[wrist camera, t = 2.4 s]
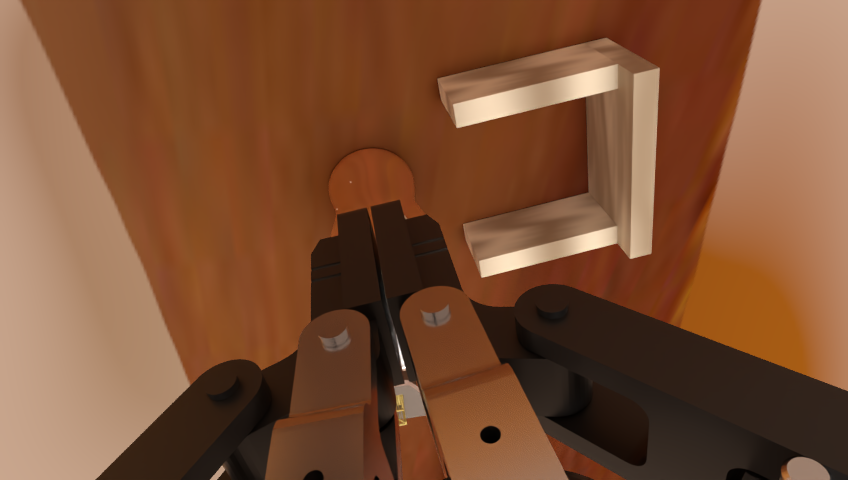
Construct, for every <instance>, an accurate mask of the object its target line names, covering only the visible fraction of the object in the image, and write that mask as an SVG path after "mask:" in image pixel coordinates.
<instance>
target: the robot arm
mask: <svg viewBox="0 0 848 480" xmlns="http://www.w3.org/2000/svg"><path fill="white" fill-rule="evenodd" d="M371 213H372V219H373V224H374V230H375V234H374V231H373V227H372V223H371V219H370V216H369V212H368V209H367V208H362V209H358V210H354V211H350V212H345V213H341V214H337V225H338V236H334V237H329V238H325V239H321V240H320V241H319V242H318V244H317V246H316V247H315V249H314V250H313V252H312V254H311V270H312V271H311V281H312V283H311V322H310V323H309V324H308V325H307V326H306V327H305V329H304V330H303V331H302V333H301V335H300V338H299V344H298V350H296V351H295V352H294V353H293V354H291V355H290V356H288V357H287V358H285V359H283V360H282V361H280V362H278V363H276V364H274V365H272V366H270V367H268V368H266V369H264V370H262V371H261V369H260V368H259V367H258V365H256V364H255V363H254V362H251V361H248V360H242V359H238V360H231V361H226V362H223V363H221V364H218V365H216V366H214V367H212V368H211V369H209V370H207V371H206V372H205V373H203V374H202V375H201V376H200V377H199V378H198V379H197V380H196V381H195V382H194V383H193V384H192V385H191V386H190V387H189V388H188V389H187V390H186V391H185V392H184V393H183V394H182V395H181V396H179V397H178V398H177V400H175V402H174V403H172V405H170V406H169V407H168V408H167V409H166V410H165V411H164V412H163V414H161V415H160V416H159V417H158V418H157V419H156V420H155V421H154V422H153V423H152V424H151V425H150V426H149V427H148V428H147V429H146V430H145V431H144V432H143V433H142V434H141V435H140V436H139V437H138V438H137V439H136V440H135V441H134V442H133V443H132V444H131V445H130V446H129V447H128V448H127V449H126V450H125V451H124V452H123V453H122V454H121V455H120V456H119V457H118V458H117V459H116V460H115V461H114V462H113V463H112V464H111V465H110V466H109V467H108V468H107V469H106V470H105V471H104V472H103V473H102V474H101V475H100V476H99V477H98V478H97V479H96V480H210V479H211V477H212V476H213V475H214V474H215V473H216V472H217V471H218V469H219V468H220V467H221V466H222V465H223V467H224V468H225V471H224V472H223V473H222V475H221V476H220V477H219V478H218V479H217V480H403V479H402V463H401V448H400V433H399V419H398V414H397V411H396V395H395V389H394V386H397V385H401V384H405V382H404V376H403V370H402V365H401V359H400V354H399V348H398V343H399V347H400V350H401V354H402V357H403V361H404V365H405V368H406V372H407V375H408V379H409V382H413V381H417V384H418V387H419V391H420V395H421V399H422V402H423V406H424V410H425V414H426V417H427V420H428V423H429V427H430V430H431V433H432V437H433V440H434V443H435V447H436V450H437V453H438V456H439V460H440V463H441V466H442V470H443V473H444V476H445V479H443V480H593V479H591V478H589V477H586V476H583V475H580V474H577V473H573V472H569V471H565V470H563V468H562V466H561V464H560V462H559V460H558V458H557V456H556V454H555V452H554V450H553V448H552V446H551V444H550V442H549V440H548V438H547V436H546V434H548V435H550V436H552V437H553V438H555V439H557V440H559V441H560V442H562V443H564V444H565V445H567V446H569V447H571V448H572V449H574V450H576V451H578V452H579V453H581V454H583V455H585V456H586V457H588V458H590V459H592V460H593V461H595V462H597V463H599V464H600V465H602V466H604V467H605V468H607V469H609V470H611V471H612V472H614V473H616V474H618V475H619V476H621V477H623V478H625V479H626V480H848V391H846V390H843V389H840V388H838V387H835V386H832V385H830V384H827V383H825V382H822V381H819V380H817V379H814V378H811V377H809V376H806V375H803V374H801V373H798V372H795V371H793V370H790V369H787V368H785V367H782V366H779V365H777V364H774V363H771V362H769V361H766V360H763V359H761V358H758V357H755V356H753V355H750V354H748V353H745V352H742V351H739V350H737V349H734V348H731V347H729V346H726V345H723V344H721V343H718V342H716V341H713V340H710V339H708V338H705V337H702V336H699V335H697V334H694V333H692V332H689V331H686V330H684V329H681V328H678V327H676V326H673V325H671V324H668V323H665V322H663V321H660V320H657V319H655V318H652V317H649V316H647V315H644V314H641V313H639V312H636V311H633V310H631V309H628V308H625V307H623V306H620V305H617V304H615V303H612V302H609V301H607V300H604V299H601V298H599V297H596V296H593V295H591V294H588V293H586V292H583V291H580V290H578V289H575V288H572V287H569V286H565V285H558V284H548V285H541V286H538V287H535V288H532V289H530V290H528V291H526V292H525V293H524V294H522V295H521V296H520V297H519V298H518V300H517V302H516V303H515V307H492V306H486V305H482V304H479V303H477V302H475V301H473V300H471V299H470V298H469V297H468V296H467V295H466V294H465V293H464V292H463V290H462V288H461V285H460V282H459V279H458V277H457V274H456V271H455V268H454V265H453V263H452V260H451V257H450V254H449V251H448V249H447V246H446V243H445V240H444V237H443V234H442V231H441V229H440V226H439V223H437V222H436V221H434V220H433V219H432V218H430V217H429V216H428V215H421V216H417V217H413V218H409V219H405V217H404V213H403V209H402V206H401V202H400V200H396V201H391V202H387V203H383V204H379V205H375V206H371ZM375 236H376V238H375ZM396 336H397V337H396ZM397 339H398V342H397ZM545 433H546V434H545Z"/></svg>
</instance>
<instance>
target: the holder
mask: <svg viewBox="0 0 848 480" xmlns="http://www.w3.org/2000/svg"><path fill="white" fill-rule="evenodd" d="M659 69H660V68H659V67H657V66H655V65H654V64H652V63H650V62H648V61H646V60H645V59H643V58H641V57H639V56H638V55H636V54H634V53H632V52H631V51H629V50H627V49H625V48H623V47H622V46H620V45H618V44H616V43H615V42H613V41H611V40H609V39H608V38H603V39H599V40H594V41H590V42H586V43H582V44H578V45H574V46H570V47H566V48H561V49H557V50H553V51H549V52H545V53H541V54H537V55H532V56H528V57H524V58H520V59H516V60H512V61H508V62H504V63H499V64H495V65H491V66H487V67H483V68H479V69H475V70H470V71H466V72H462V73H458V74H454V75H450V76H446V77H441V78H437V80H438V86H439V91H440V97H441V101H442V103H443V105H444V106H445V108H446V110H447V112H448V113H449V115H450V117H451V119H452V120H453V122H454V124H455V126H456V127H457V128H459V127H463V126H468V125H472V124H476V123H480V122H484V121H488V120H492V119H496V118H500V117H504V116H508V115H512V114H516V113H521V112H525V111H529V110H533V109H537V108H541V107H545V106H549V105H553V104H557V103H561V102H565V101H569V100H574V99H578V98H582V97H586V120H587V154H588V188H589V193H585V194H581V195H577V196H573V197H569V198H565V199H561V200H557V201H553V202H549V203H545V204H541V205H537V206H533V207H529V208H525V209H521V210H517V211H513V212H509V213H505V214H501V215H497V216H493V217H489V218H485V219H481V220H477V221H473V222H469V223H465V224H463V227H464V232H465V238H466V242H467V244H468V246H469V249H470V251H471V253H472V256H473V258H474V261H475V263H476V265H477V268H478V270H479V272H480V275H481V277H482V278H483V277H486V276H490V275H494V274H498V273H502V272H506V271H510V270H514V269H518V268H522V267H526V266H530V265H534V264H537V263H541V262H545V261H549V260H553V259H557V258H561V257H565V256H569V255H573V254H577V253H581V252H584V251H588V250H592V249H596V248H600V247H604V246H608V245H612V244H616V243H618V245H619V246H620V247H621V248H622V249H623V251H624V252H625V253H626V254H627V255H628V257H629V258H630V259H632V258H636V257H639V256H643V255H647V254H651V248H652V226H653V204H654V181H655V159H656V136H657V114H658V92H659Z"/></svg>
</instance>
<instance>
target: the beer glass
mask: <svg viewBox="0 0 848 480" xmlns="http://www.w3.org/2000/svg"><path fill="white" fill-rule="evenodd" d="M328 190H329V196H330V200H331V203H332V205H333V207H334V210H335V212H336V218H335V222H334V225H333V228H332V232H331V236H330V237H334V236H338V225H337V214H341V213H345V212H350V211H354V210H358V209H362V208H367V209H368V212H369V216H370V219H371V223H372V227H373V231H374V234H375V230H374V224H373V219H372V213H371V206H375V205H379V204H383V203H387V202H391V201H396V200H400V202H401V206H402V209H403V213H404V217H405V219H409V218H413V217H417V216H421V215H425V214H424V212H423V211H422V210H421V208H420V207H419V206H418V204H417V203H416V202H415V200H414V191H415V186H414V179H413V175H412V172H411V170H410V168H409V167H408V165H407V164H406V163H405V162H404V161H403V160H402V159H401V158H400V157H399V156H397V155H396V154H394V153H392V152H390V151H387V150H383V149H377V148H368V149H362V150H358V151H355V152H353V153H351V154H349V155H348V156H346V157H345V158H343V159H342V160H341V161H340V162H339V163H338V164H337V166H336V167H335V168H334V170H333V172H332V174H331V177H330V180H329V186H328ZM375 238H376V236H375ZM396 337H397V336H396ZM397 342H398V339H397ZM398 348H399V354H400V359H401V365H402V370H403V371H406V368H405V365H404V361H403V357H402V354H401V350H400V347H399V343H398Z"/></svg>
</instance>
